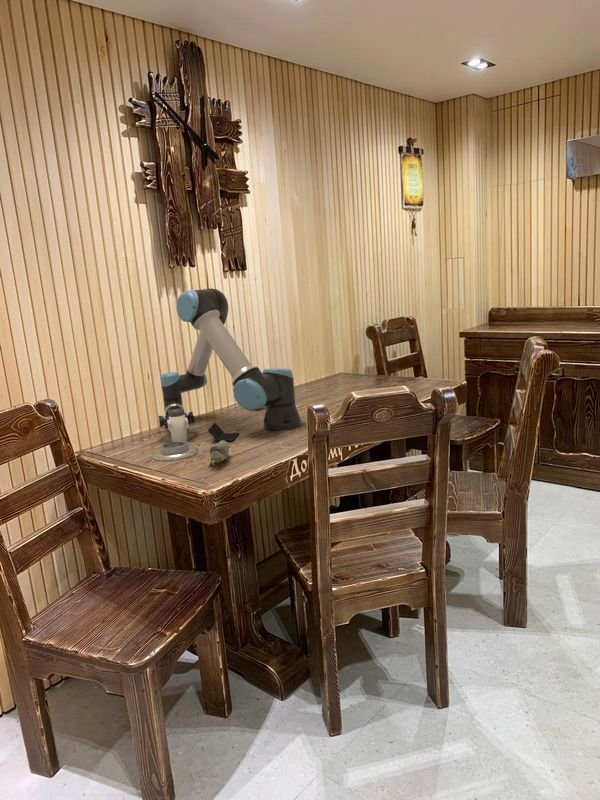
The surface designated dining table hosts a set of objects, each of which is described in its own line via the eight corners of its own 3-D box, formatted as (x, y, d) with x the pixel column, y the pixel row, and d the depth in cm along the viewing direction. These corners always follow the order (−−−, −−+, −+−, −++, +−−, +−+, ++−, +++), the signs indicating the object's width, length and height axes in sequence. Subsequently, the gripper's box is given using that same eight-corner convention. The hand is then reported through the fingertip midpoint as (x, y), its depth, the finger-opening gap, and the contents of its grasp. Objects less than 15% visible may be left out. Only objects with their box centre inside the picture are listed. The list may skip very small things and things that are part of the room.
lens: (190, 438, 230) (187, 408, 228) (181, 442, 225) (177, 411, 223) (178, 438, 233) (174, 408, 231) (168, 442, 228) (164, 411, 225)
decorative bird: (233, 455, 204) (231, 433, 202) (223, 470, 188) (221, 447, 186) (218, 456, 204) (215, 434, 203) (206, 471, 188) (204, 448, 187)
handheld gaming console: (238, 437, 220) (219, 417, 220) (224, 450, 220) (205, 431, 220) (240, 434, 232) (222, 415, 231) (227, 447, 232) (209, 428, 231)
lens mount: (207, 448, 214) (206, 439, 213) (180, 462, 200) (178, 452, 199) (171, 446, 221) (169, 437, 220) (142, 459, 207) (141, 450, 206)
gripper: (199, 419, 248) (205, 431, 226) (152, 426, 243) (153, 439, 221) (197, 402, 246) (202, 412, 224) (150, 408, 242) (150, 419, 220)
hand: (178, 425), depth 223 cm, fingers closed on lens, 6 cm apart
